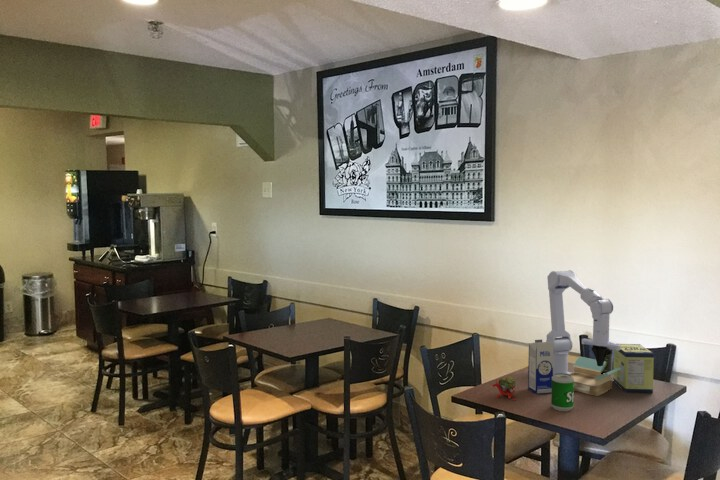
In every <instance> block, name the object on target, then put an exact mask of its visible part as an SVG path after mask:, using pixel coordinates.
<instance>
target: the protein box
mask: <svg viewBox="0 0 720 480" xmlns="http://www.w3.org/2000/svg"><path fill="white" fill-rule="evenodd" d="M617 344H618V345H621V348H620V350H619V351H616V350H614V349H613V368H612V370H614V369H616V368H619V367H620V368H621V370H619V371H617V372H614V373H612V374H613V375H612V376H613V377H612V381H613V380H614V381H615V382H616V383H617V384H618V385H619V386H620V387H621V388H622V389H623V390H624V391H625V393H636V392H639V394H640V392H642V393H643V394H646V393H647V394H649V393H650V394H654V363H655V362H654V361H655V354H654V352H652V351H651V350H649V349H647V348H646V347H645V346H644V345H642V344H640V343H637V344H636V343H617ZM614 381H613V382H614ZM615 382H614V383H615ZM616 383H615V384H616ZM617 384H616V385H617ZM618 385H617V386H618ZM619 386H618V387H619ZM620 387H619V388H620ZM621 388H620V389H621ZM622 389H621V390H622ZM623 390H622V391H623ZM624 391H623V392H624Z"/></svg>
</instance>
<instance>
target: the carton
mask: <svg viewBox="0 0 720 480" xmlns="http://www.w3.org/2000/svg"><path fill="white" fill-rule="evenodd" d="M570 375H571V376H572V377H573V378H574V392H575V391H576V392H579V393H584V394H587V395H591V396H595V397H599V396H601V395H602V394H605V393H607V392H609V391H611V390H612V389H613V379H612V380H610V381H607V382H605V383H603V384H601V385H598V386H597V384H596V382H595V380H594V379H593V378H596V376H591V375H587V374H582V373H578V372H574V371H572V372H571V373H570ZM610 389H611V390H610ZM608 390H609V391H608Z"/></svg>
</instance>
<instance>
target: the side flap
mask: <svg viewBox="0 0 720 480" xmlns="http://www.w3.org/2000/svg"><path fill="white" fill-rule="evenodd" d="M606 364H607V362H606V361H604V363H603V366H597V362H596V358H589V357H586V356H585V357H584V356H580V355H579V356H578V357H577V359H576V361H575V362H574V364H573V365H572V368H573V372H576V373H581V374H585V375H590V376H594V377H598V376H600V375H602V374H601V373H602V371H603V369H604V368H605V366H606Z"/></svg>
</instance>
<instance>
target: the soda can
mask: <svg viewBox="0 0 720 480" xmlns="http://www.w3.org/2000/svg"><path fill="white" fill-rule="evenodd" d="M574 392H575V391H574V378H573V377H572V376H571V375H570V374H566V373H556V374H554V375H553V376H552V388H551V393H550V395H551V396H550V397H551V399H550V401H551V403H550V406H551V407H552V408H553V409H554V410H556V411H558V412H570V411H572V409H574V400H575V399H574V398H575V397H574V396H575V395H574V394H575V393H574Z"/></svg>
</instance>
